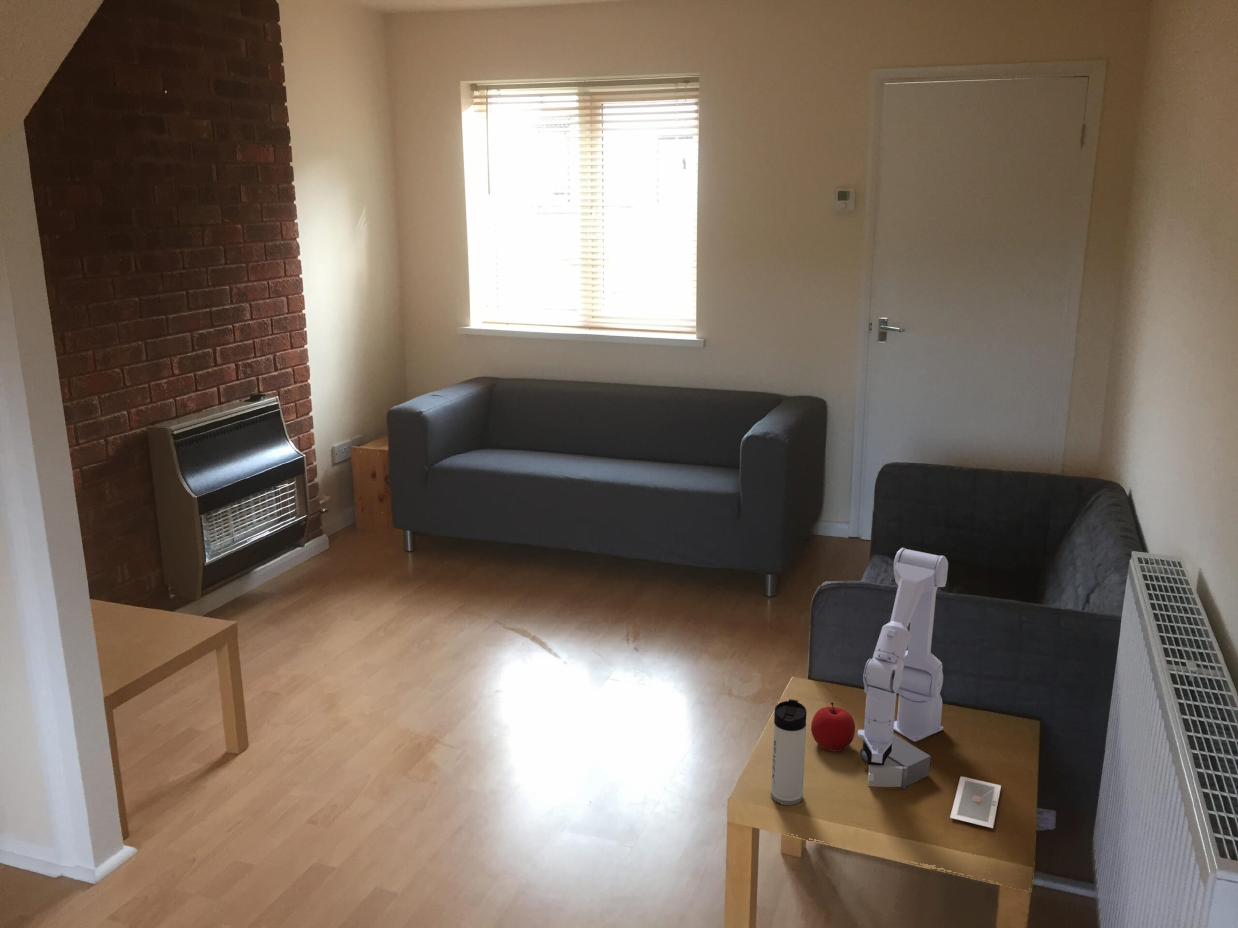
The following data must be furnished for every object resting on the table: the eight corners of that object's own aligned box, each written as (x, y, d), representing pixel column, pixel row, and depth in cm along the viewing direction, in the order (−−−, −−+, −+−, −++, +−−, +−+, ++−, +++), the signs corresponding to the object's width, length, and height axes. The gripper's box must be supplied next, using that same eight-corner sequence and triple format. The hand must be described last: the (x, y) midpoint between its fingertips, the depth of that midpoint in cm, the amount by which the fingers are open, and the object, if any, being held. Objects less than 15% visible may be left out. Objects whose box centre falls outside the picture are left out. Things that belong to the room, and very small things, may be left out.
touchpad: (949, 822, 203) (950, 812, 202) (960, 780, 216) (961, 771, 215) (992, 832, 200) (993, 823, 199) (1000, 790, 213) (1001, 780, 212)
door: (905, 786, 213) (907, 766, 212) (906, 790, 212) (908, 770, 210) (867, 783, 214) (868, 764, 213) (868, 788, 213) (869, 768, 211)
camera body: (885, 748, 226) (886, 727, 225) (928, 775, 217) (930, 753, 215) (855, 761, 222) (857, 739, 220) (899, 789, 212) (901, 766, 211)
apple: (808, 753, 225) (811, 712, 222) (811, 731, 233) (813, 691, 230) (853, 759, 223) (855, 717, 220) (854, 736, 231) (857, 696, 228)
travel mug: (805, 789, 212) (809, 701, 207) (799, 808, 206) (804, 718, 201) (774, 783, 214) (778, 696, 209) (767, 802, 208) (771, 712, 203)
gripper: (860, 694, 217) (856, 751, 221) (857, 731, 204) (853, 791, 208) (895, 698, 216) (891, 756, 220) (895, 736, 202) (890, 796, 206)
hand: (875, 774), depth 214 cm, fingers closed, pressing on door
